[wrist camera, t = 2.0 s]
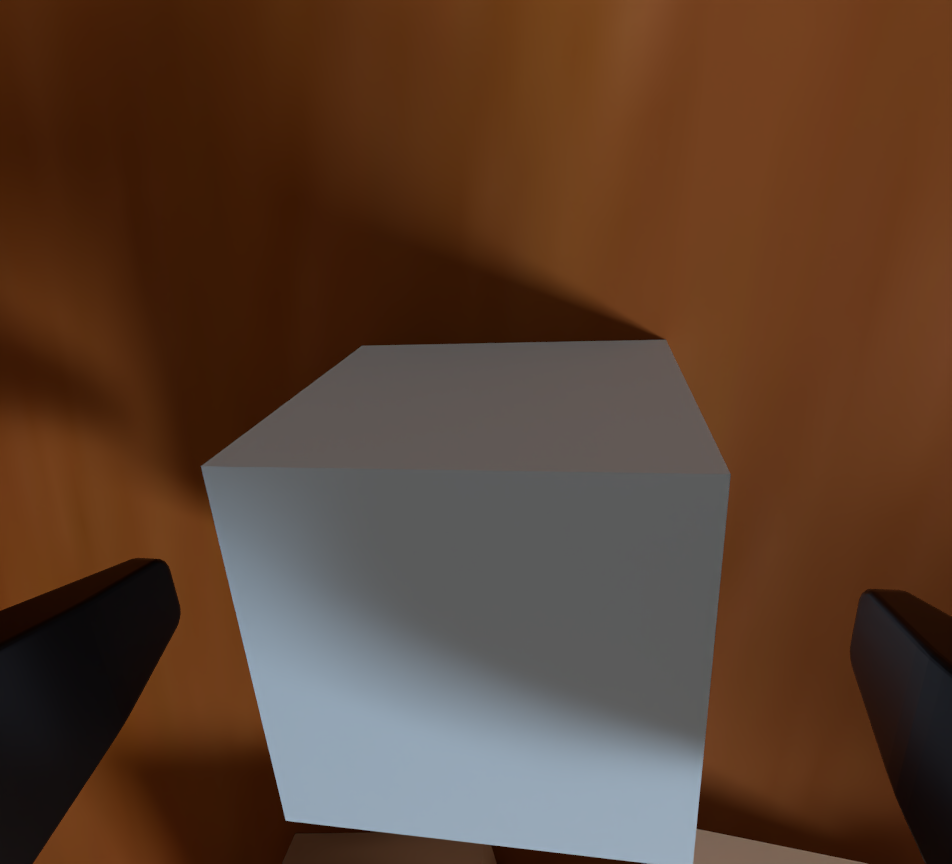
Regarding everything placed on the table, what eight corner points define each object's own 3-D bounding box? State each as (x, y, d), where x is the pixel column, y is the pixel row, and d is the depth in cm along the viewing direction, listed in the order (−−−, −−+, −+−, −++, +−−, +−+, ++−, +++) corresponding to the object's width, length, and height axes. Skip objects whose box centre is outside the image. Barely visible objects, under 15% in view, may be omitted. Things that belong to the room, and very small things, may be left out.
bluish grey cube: (394, 588, 13) (285, 820, 8) (363, 344, 11) (200, 467, 6) (651, 601, 12) (693, 869, 7) (664, 338, 10) (729, 475, 5)
